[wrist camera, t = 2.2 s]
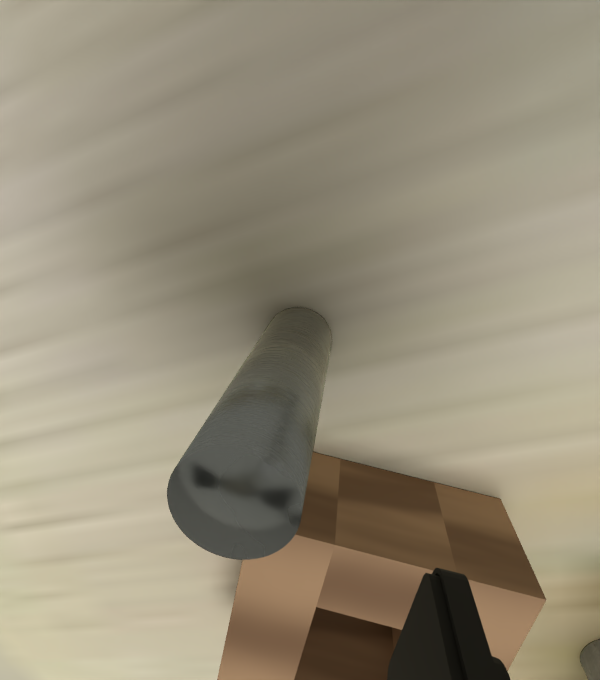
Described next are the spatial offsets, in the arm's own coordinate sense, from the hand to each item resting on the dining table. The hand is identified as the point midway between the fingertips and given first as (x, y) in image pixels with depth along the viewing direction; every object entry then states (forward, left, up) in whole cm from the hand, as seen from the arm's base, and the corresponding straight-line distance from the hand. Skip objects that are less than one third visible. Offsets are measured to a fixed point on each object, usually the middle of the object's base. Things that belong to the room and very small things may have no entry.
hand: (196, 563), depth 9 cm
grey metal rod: (-1, 0, -13) cm, 13 cm away
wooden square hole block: (+11, +6, -13) cm, 19 cm away
